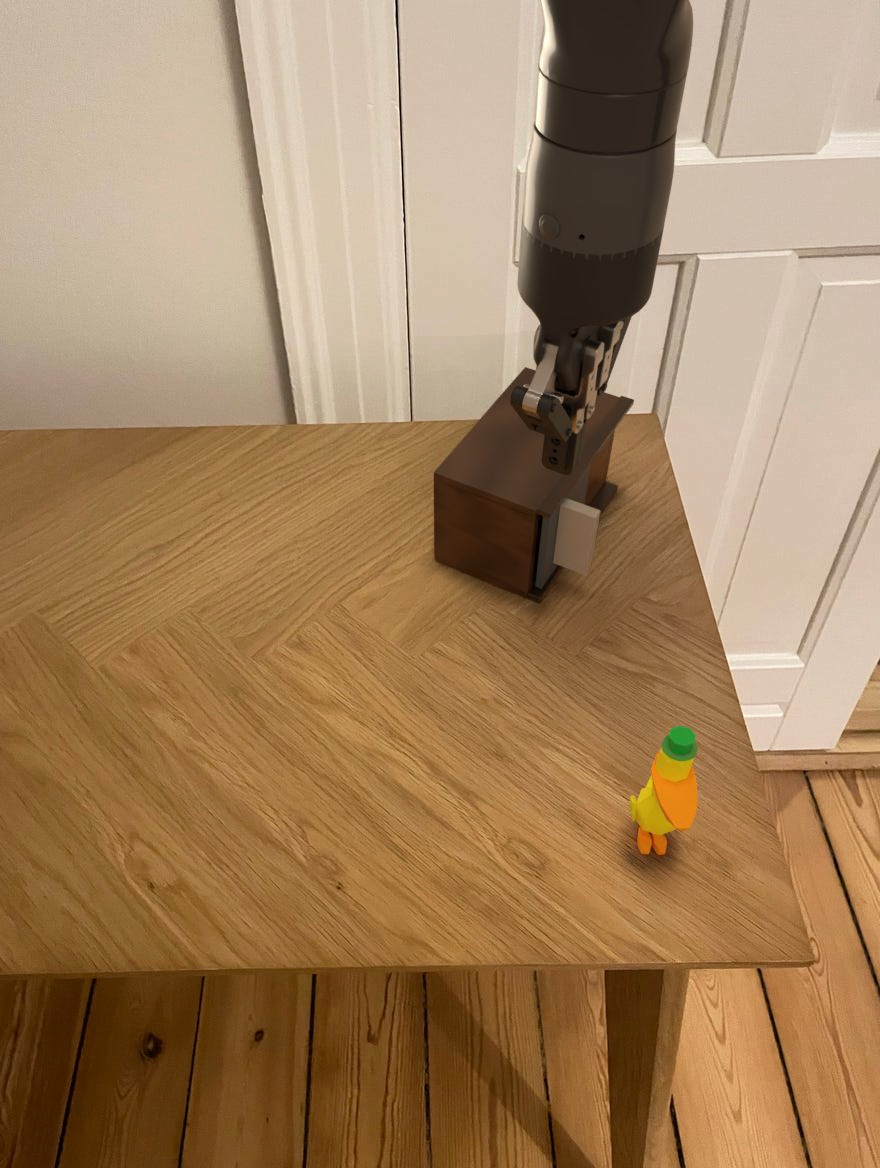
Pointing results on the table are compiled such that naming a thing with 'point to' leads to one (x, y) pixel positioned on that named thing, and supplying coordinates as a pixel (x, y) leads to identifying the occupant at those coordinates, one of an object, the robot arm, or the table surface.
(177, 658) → the table surface
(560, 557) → the door
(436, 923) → the table surface
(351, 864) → the table surface
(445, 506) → the cupboard
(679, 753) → the toy figure
